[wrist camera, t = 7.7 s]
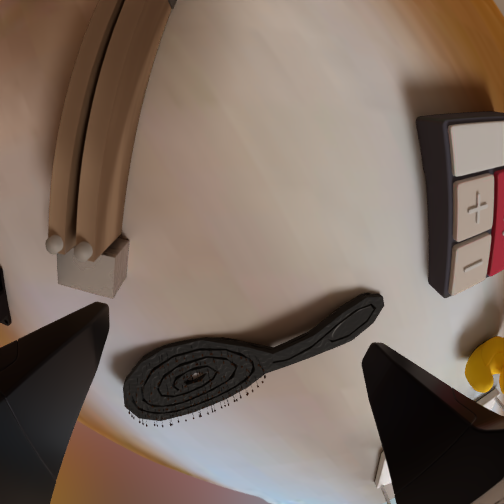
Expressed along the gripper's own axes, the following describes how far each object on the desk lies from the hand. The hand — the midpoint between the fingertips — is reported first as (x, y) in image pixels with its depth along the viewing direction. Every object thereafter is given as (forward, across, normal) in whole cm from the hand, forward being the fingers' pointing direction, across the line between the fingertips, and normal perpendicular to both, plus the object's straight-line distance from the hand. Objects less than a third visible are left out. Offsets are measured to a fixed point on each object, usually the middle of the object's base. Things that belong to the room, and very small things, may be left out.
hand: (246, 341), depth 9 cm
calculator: (+13, -20, -8) cm, 25 cm away
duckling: (+12, -35, +9) cm, 39 cm away
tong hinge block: (+12, +10, +4) cm, 16 cm away
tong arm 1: (+12, +8, -7) cm, 16 cm away
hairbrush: (+13, -4, +11) cm, 17 cm away
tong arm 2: (+12, +10, -7) cm, 17 cm away
